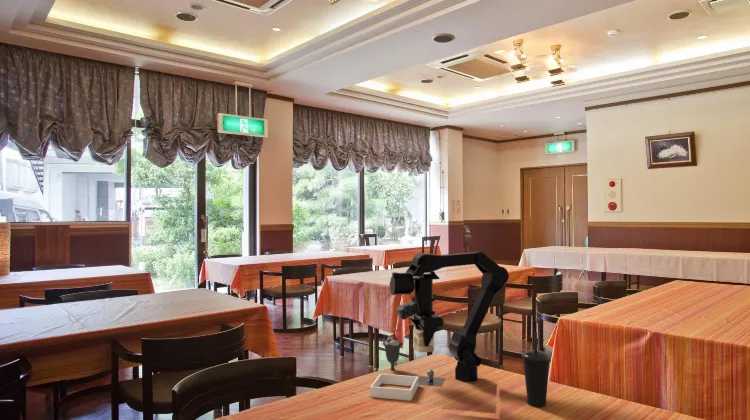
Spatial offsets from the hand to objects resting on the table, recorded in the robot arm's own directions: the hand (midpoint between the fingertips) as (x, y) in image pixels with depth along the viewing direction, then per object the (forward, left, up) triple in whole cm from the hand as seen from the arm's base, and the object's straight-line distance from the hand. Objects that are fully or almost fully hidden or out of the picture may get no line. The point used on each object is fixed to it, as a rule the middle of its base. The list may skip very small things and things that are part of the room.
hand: (423, 344), depth 148 cm
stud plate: (-2, -2, -13) cm, 14 cm away
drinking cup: (-33, +6, -13) cm, 36 cm away
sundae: (+12, -10, -13) cm, 21 cm away
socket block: (0, 0, -2) cm, 2 cm away
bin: (+7, +9, -13) cm, 17 cm away
